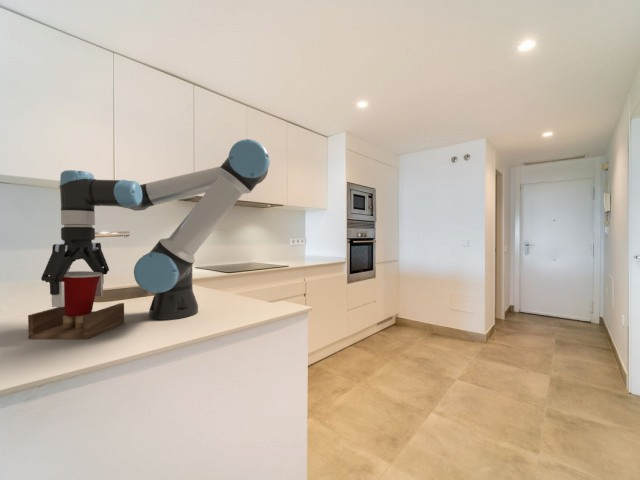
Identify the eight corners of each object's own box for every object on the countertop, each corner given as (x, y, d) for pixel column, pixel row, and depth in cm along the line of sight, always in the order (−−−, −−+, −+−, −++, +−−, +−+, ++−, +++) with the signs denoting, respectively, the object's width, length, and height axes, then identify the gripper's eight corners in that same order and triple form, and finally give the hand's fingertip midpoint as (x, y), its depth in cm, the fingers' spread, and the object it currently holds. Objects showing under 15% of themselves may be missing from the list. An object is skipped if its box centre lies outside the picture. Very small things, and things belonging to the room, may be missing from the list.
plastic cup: (96, 316, 83) (95, 273, 82) (47, 321, 79) (46, 275, 79) (108, 307, 93) (107, 269, 93) (64, 311, 89) (64, 270, 89)
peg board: (124, 323, 93) (124, 303, 92) (88, 339, 79) (87, 315, 78) (73, 322, 93) (73, 303, 93) (28, 338, 79) (28, 315, 79)
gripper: (98, 227, 98) (100, 292, 98) (20, 225, 73) (22, 312, 73) (121, 227, 98) (122, 292, 98) (50, 225, 73) (52, 312, 73)
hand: (79, 301), depth 86 cm, fingers open, 13 cm apart
